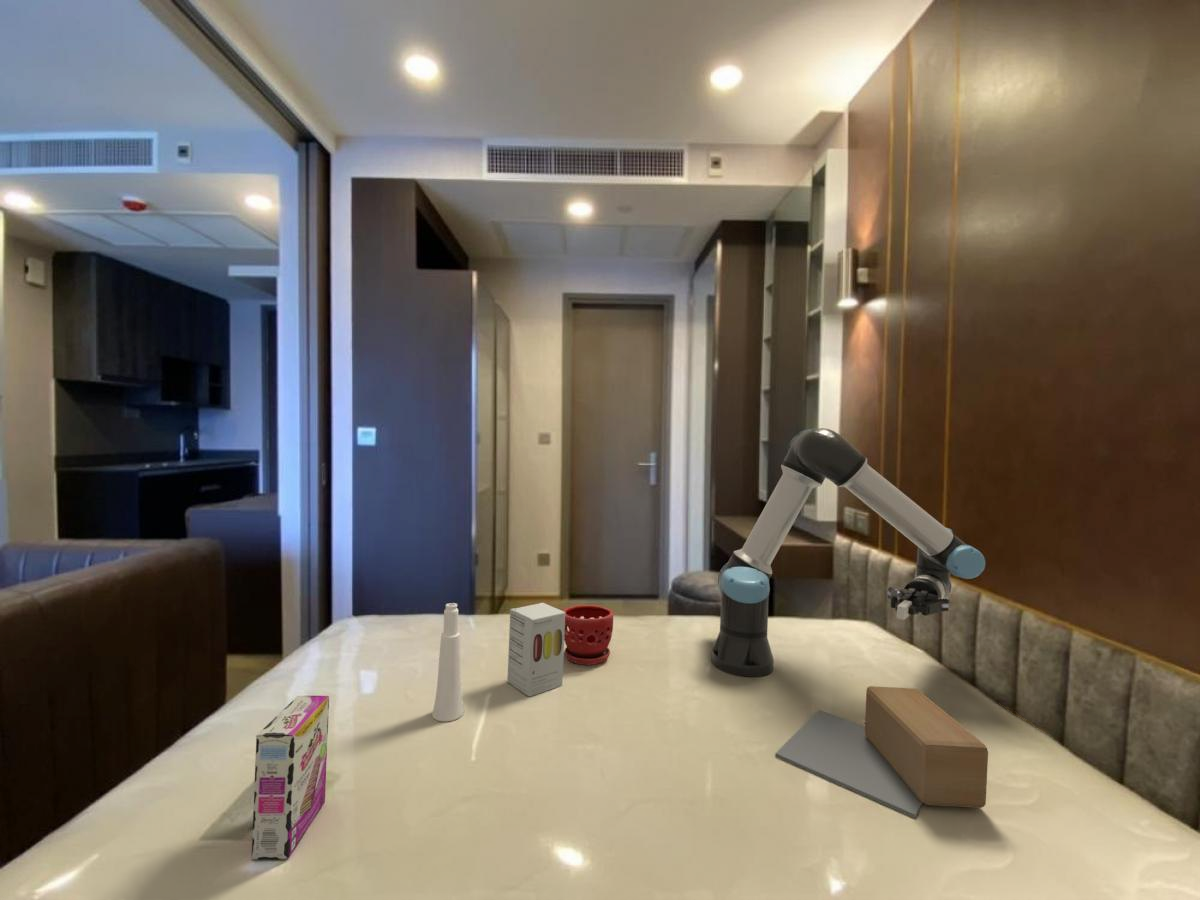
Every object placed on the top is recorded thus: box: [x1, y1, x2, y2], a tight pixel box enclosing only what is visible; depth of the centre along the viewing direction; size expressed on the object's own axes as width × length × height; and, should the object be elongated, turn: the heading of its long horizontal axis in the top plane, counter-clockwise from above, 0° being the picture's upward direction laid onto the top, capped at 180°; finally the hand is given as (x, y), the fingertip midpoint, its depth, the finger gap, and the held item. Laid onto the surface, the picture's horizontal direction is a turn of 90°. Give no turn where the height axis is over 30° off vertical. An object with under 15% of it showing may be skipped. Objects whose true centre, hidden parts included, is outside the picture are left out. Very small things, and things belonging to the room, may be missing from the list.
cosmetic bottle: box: [432, 602, 465, 723], centre depth 105 cm, size 6×6×22 cm
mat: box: [774, 709, 923, 819], centre depth 95 cm, size 22×22×1 cm
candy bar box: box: [250, 695, 330, 861], centre depth 73 cm, size 11×5×16 cm, turn 5°
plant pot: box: [562, 604, 614, 666], centre depth 135 cm, size 13×13×12 cm
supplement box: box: [506, 602, 565, 698], centre depth 119 cm, size 10×9×17 cm
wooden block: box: [864, 685, 989, 809], centre depth 91 cm, size 10×10×20 cm
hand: (900, 612), depth 113 cm, fingers closed
